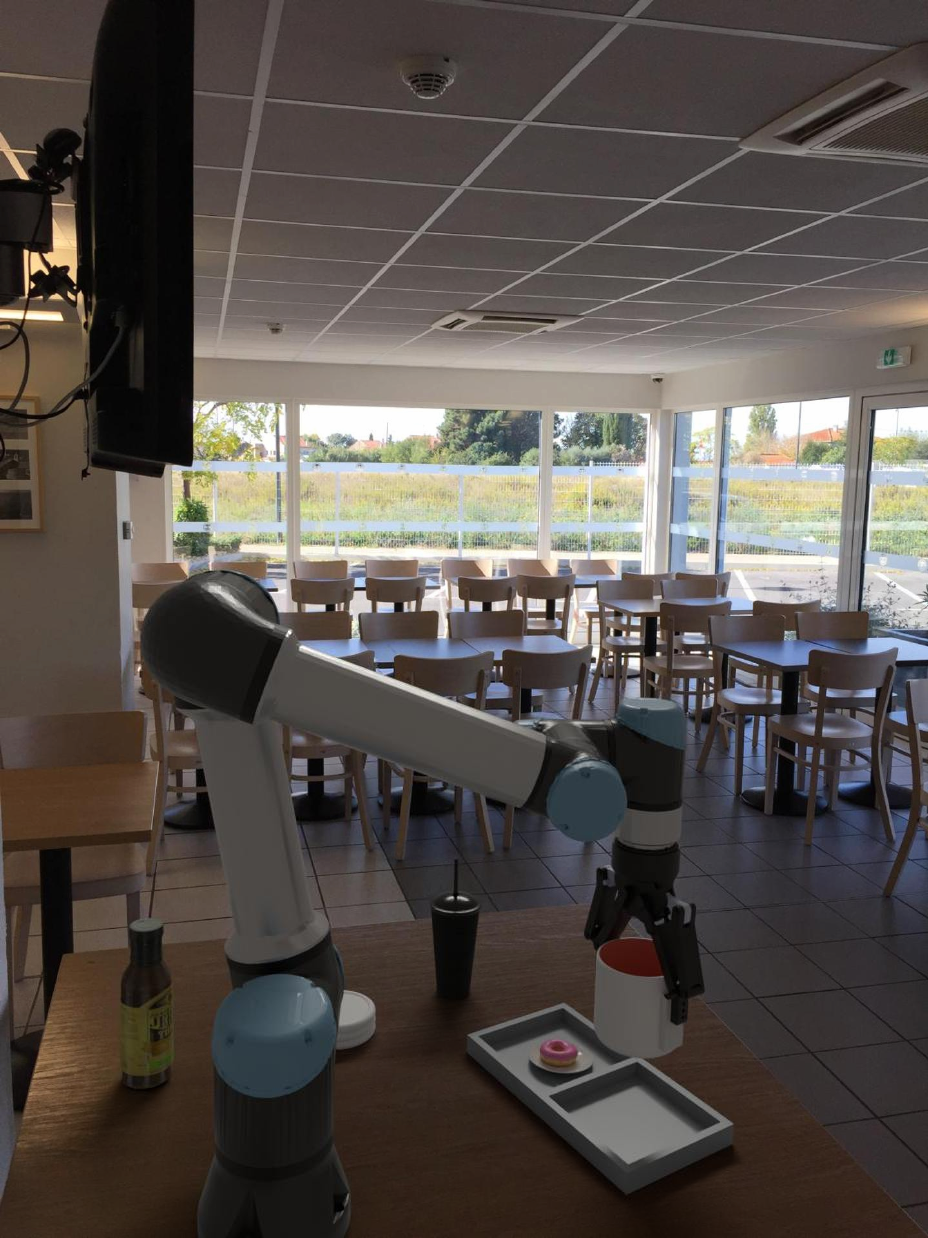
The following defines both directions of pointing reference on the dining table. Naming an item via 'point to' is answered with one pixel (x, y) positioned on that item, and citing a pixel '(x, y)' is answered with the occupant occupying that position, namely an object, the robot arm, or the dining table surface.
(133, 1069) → the sauce bottle
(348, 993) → the white plate stack
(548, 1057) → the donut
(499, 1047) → the carrier tray
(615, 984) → the cup
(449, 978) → the drinking cup
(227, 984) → the dining table surface
